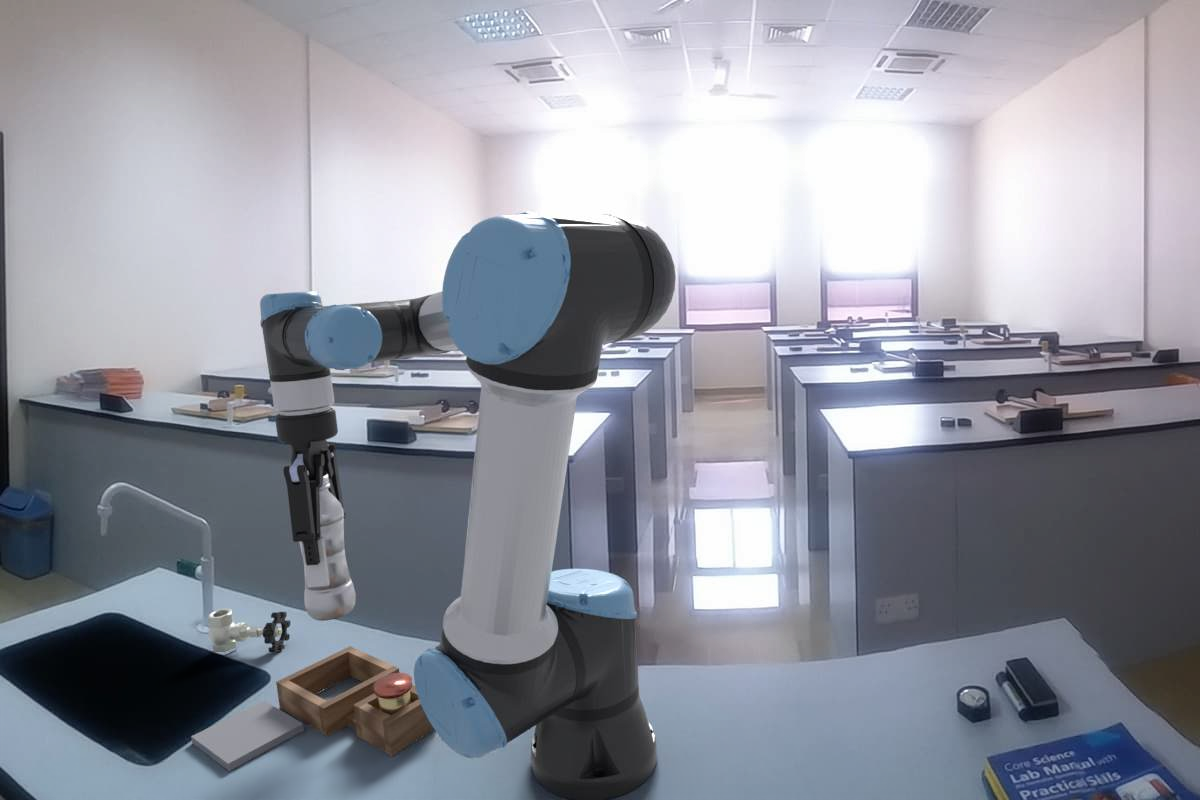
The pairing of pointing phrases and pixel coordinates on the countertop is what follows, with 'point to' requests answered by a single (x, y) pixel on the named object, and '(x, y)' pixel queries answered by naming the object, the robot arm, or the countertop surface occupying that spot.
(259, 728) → the pad
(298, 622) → the countertop surface
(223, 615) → the valve
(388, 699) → the copper-capped cylinder
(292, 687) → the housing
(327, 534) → the plastic bottle
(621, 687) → the robot arm
